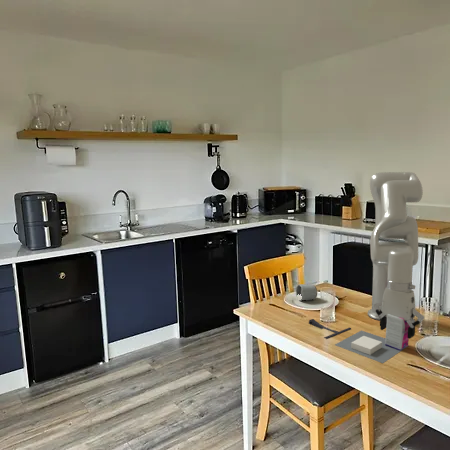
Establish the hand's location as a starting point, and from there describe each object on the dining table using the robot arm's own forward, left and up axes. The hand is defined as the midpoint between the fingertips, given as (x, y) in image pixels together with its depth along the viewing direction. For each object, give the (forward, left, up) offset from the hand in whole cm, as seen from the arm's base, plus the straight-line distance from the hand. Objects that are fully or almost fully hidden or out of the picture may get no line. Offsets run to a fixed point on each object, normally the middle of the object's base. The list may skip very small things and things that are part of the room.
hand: (396, 332), depth 139 cm
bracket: (+5, -26, -6) cm, 27 cm away
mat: (+6, -6, -5) cm, 10 cm away
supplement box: (0, 0, -5) cm, 5 cm away
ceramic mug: (-18, -53, -6) cm, 56 cm away
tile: (+5, -6, -4) cm, 9 cm away
